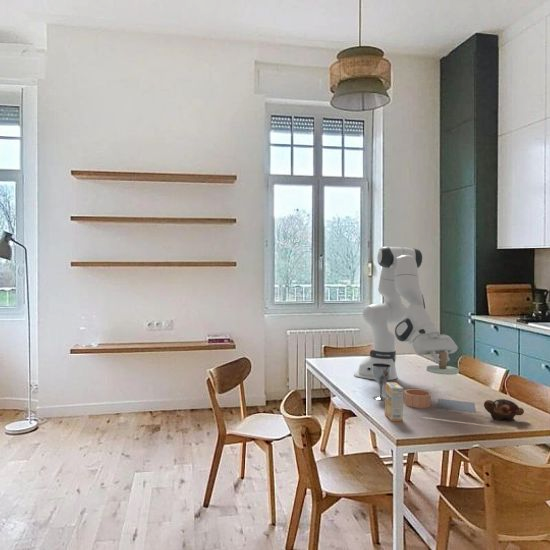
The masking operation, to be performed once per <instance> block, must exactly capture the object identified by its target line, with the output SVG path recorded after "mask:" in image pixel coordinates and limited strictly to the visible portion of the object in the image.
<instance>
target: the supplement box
mask: <svg viewBox="0 0 550 550" xmlns="http://www.w3.org/2000/svg"><path fill="white" fill-rule="evenodd" d="M384 393H385V395H384V397H385V401H384V415H385V416H386V417H387V418H388V419H389V420H390V421H391V422H403V416H404V414H403V412H404V387H403V386H402V385H401V384H399V383H397V382H385V392H384Z"/></svg>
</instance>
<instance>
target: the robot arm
mask: <svg viewBox="0 0 550 550" xmlns="http://www.w3.org/2000/svg"><path fill="white" fill-rule="evenodd" d="M376 258H377V263H378V265H379V266H380V267H381V272H380V275H379V280H378V281H379V282H378V289H377V290H378V292H379V295H381V297H383V298H384V302H383V303H382V302H381V303H371V304H369V305H366V306H365V307H364V308H363V311H362V318H363V320H364V322H365V323H366V324H368V326H369V327H370V329H371V331H372V334H373V335H372V336H373V348H371V349H370V350H369V356H368V357H367V358H365V359H363V360H362V361H361V362H360V363H359V365H358V370H356V371H355V372H353V373H354V374H353V376H354V377H356V378H362V379H368V380H374V381H376V380H375V378H374V376H373V370H372V365H373V364H374V363H384V364H389V365H391V371H390V376H389V378H388V380H387V381H390V380H391V381H392V380H397V379H398V374H397V368H396V361H397V352H396V351H397V350H396V339H397V340H398V341H399V342H403V343H407V344H410V345H412V348H413V350H414V352H415V353H416V354H417V355H418V356H424V355H425V356H427V355H429V356H430V357H432V358H433V359H434V360H435V361H436V363H439V362H441V361H442V359H441V357H439V356H438V355H439V352H447V363H448V362H450V361H451V359H450V357H449V356H450V355H449V354H454V353H456V352H457V350H458V348H459V347H458V345H457V344H456V342H455V341H454V340H453V339H452V337H451V336H450V335H447V334H446V333H443V334H441V333H440V332H439V329H438V328H437V326H436V324H435V323H434V322H433V320H432V318H431V316H430V314H429V312H428V311H427V310H426V304H425V298H424V295H423V292H422V291H421V288H420V281H419V279H420V278H419V268H420V267H421V265H422V263H423V254H422V252H421V250H420V249H417V248H411V247H405V246H382V247H380V248H379V250H378V253H377V257H376ZM401 297H402V298H403V299H404V300H406V301H407V303H409V306H408V307H406V306H405V304H403V302H402V299H401ZM388 325H396V326H395V328H394V333H393V332H391V331H390V330H389V327H388Z"/></svg>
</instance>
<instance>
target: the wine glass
mask: <svg viewBox="0 0 550 550" xmlns="http://www.w3.org/2000/svg"><path fill="white" fill-rule="evenodd" d="M372 370H373V376H374V378H375V380H374V381H376V383H378V386H379V395H375V396H372V399H373V400H375V401H379V402H380V401H381V402H382V401H384V402H385V395H383V393H382V392H383V386H384V385H385V384H386V383H387V381H389V380H388V378H389V376H390V371H391V365H389V364H384V363H374V364H373V365H372Z"/></svg>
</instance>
